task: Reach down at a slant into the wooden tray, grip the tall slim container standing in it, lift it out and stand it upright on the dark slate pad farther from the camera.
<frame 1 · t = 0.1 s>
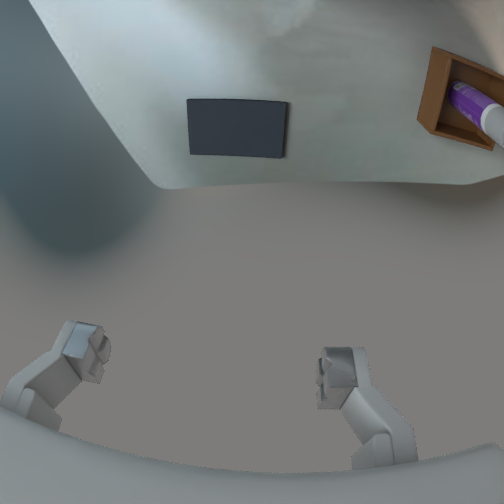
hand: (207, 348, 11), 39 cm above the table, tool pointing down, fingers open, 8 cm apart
container: (458, 94, 36), resting on wooden tray
pad: (235, 127, 44), on the table
wooden tray: (457, 93, 36), on the table
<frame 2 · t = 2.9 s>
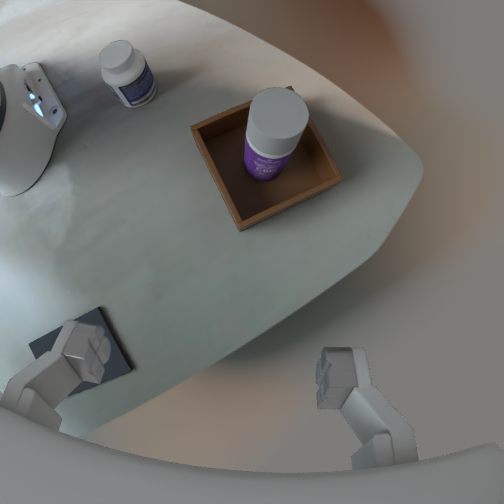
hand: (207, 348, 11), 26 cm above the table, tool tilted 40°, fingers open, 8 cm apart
container: (263, 163, 37), resting on wooden tray
pad: (76, 356, 36), on the table
wooden tray: (263, 164, 37), on the table
pill bottle: (138, 91, 37), on the table
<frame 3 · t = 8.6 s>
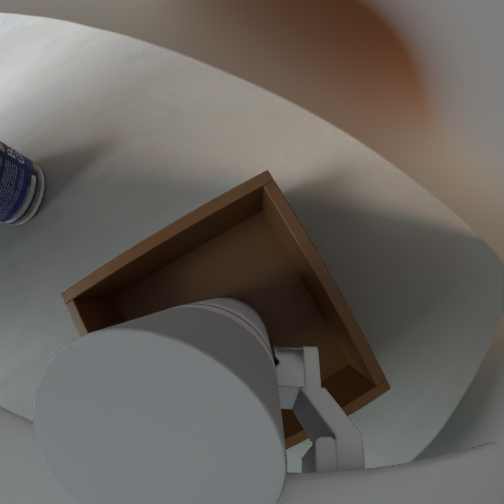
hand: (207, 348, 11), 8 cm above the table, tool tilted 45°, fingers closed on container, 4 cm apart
container: (228, 334, 19), resting on wooden tray, touching gripper
wooden tray: (228, 333, 19), on the table
pill bottle: (24, 194, 21), on the table
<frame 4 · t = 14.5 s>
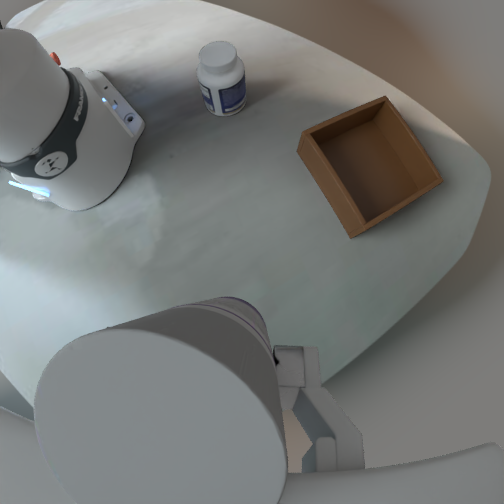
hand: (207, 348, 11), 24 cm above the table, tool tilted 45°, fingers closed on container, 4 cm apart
container: (228, 334, 19), point 16 cm above the table, touching gripper
wooden tray: (363, 172, 37), on the table
pill bottle: (225, 101, 38), on the table
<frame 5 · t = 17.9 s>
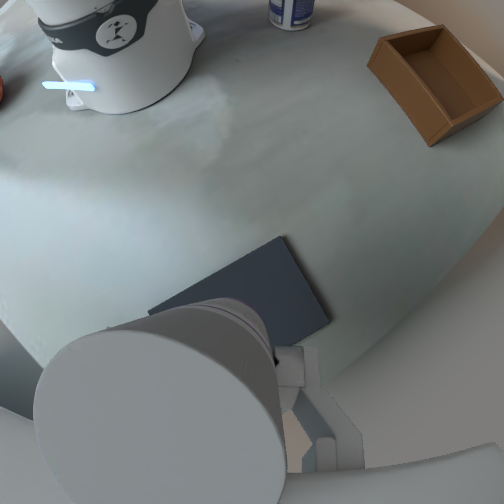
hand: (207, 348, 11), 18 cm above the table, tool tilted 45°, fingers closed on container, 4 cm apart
container: (228, 334, 19), point 10 cm above the table, touching gripper
pad: (237, 318, 29), on the table
wooden tray: (429, 90, 31), on the table
pill bottle: (289, 20, 33), on the table
when the fingers open (8 cm above the table, at t = 20.8 s): container stays where it is, resting on pad.
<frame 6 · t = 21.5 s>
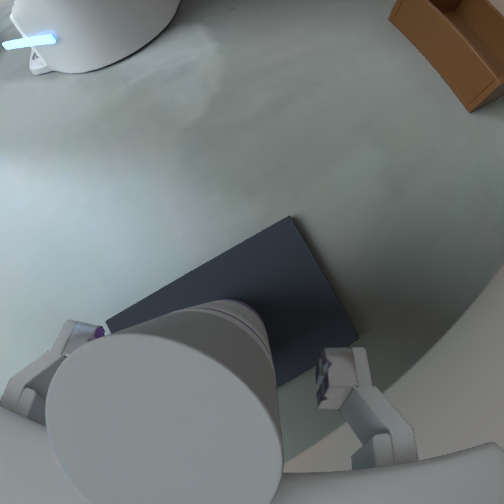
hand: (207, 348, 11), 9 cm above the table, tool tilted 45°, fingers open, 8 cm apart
container: (228, 335, 19), resting on pad
pad: (228, 333, 20), on the table
wooden tray: (461, 52, 22), on the table
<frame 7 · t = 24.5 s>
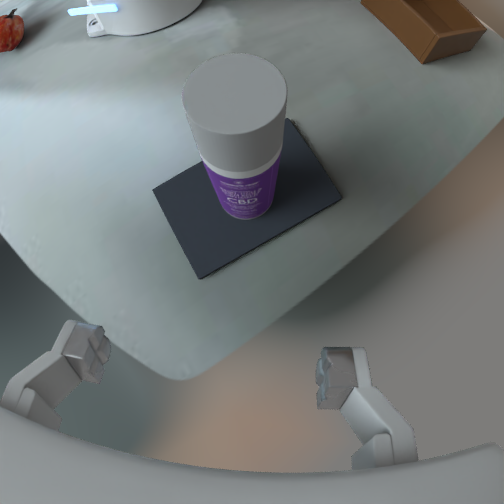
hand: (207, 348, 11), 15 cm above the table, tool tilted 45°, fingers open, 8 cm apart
container: (246, 193, 27), resting on pad
pad: (246, 193, 28), on the table
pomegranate: (13, 46, 32), on the table
wooden tray: (419, 24, 30), on the table
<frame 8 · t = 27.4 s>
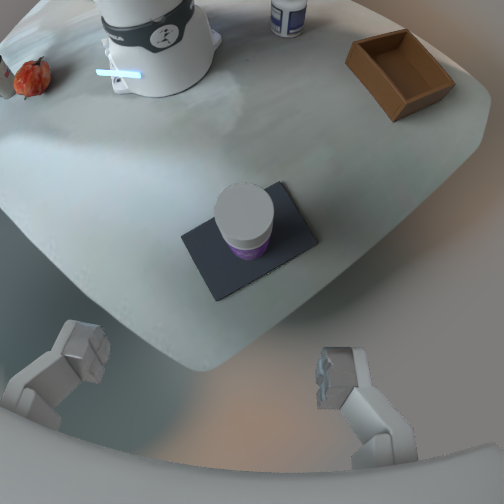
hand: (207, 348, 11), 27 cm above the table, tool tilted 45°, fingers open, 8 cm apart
container: (248, 240, 39), resting on pad
pad: (248, 240, 39), on the table
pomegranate: (41, 89, 43), on the table
wooden tray: (395, 80, 42), on the table
pill bottle: (286, 29, 43), on the table
coffee cup: (11, 90, 43), on the table
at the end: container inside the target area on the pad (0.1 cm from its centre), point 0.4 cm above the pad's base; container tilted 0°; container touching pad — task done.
